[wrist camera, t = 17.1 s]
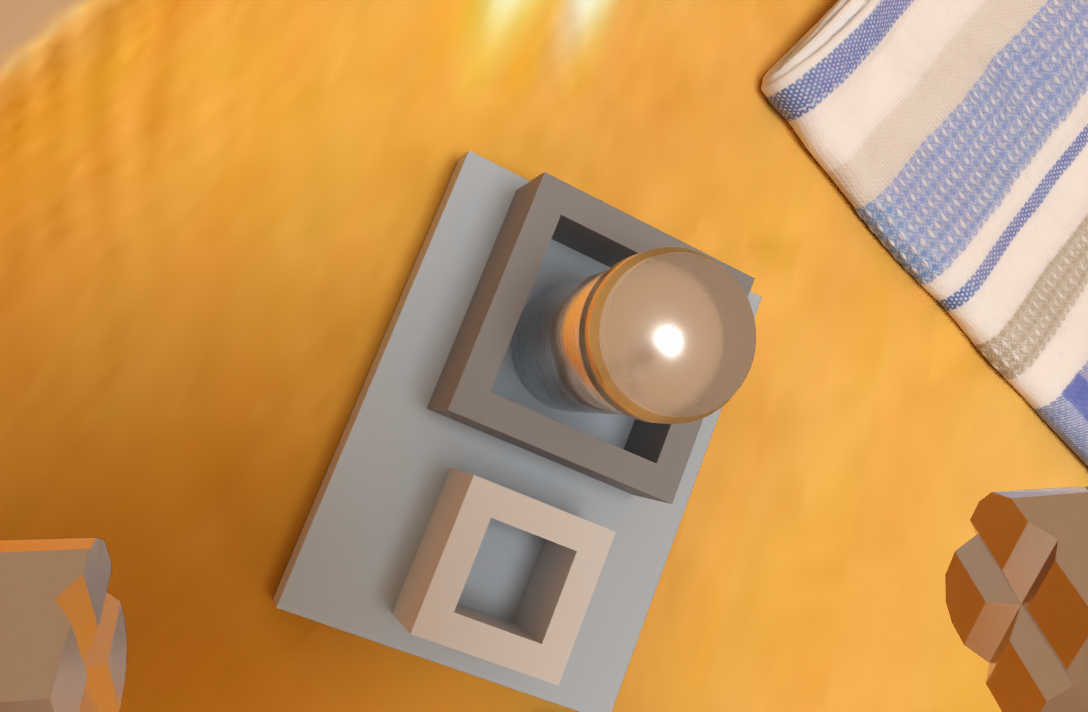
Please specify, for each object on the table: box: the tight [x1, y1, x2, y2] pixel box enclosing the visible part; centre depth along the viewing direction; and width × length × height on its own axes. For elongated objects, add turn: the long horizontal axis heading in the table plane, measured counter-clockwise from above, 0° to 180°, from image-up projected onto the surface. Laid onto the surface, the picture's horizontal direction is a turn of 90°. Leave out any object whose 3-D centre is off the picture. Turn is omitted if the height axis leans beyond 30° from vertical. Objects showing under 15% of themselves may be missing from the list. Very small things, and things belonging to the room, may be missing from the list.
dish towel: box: [761, 0, 1088, 466], centre depth 43 cm, size 17×24×3 cm
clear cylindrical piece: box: [511, 247, 756, 424], centre depth 32 cm, size 5×5×8 cm
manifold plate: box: [273, 151, 762, 712], centre depth 34 cm, size 16×12×4 cm
